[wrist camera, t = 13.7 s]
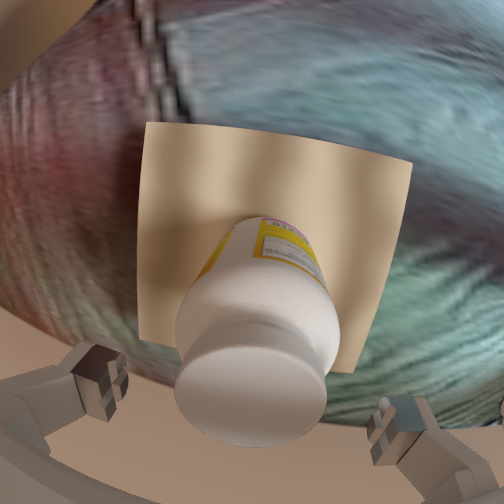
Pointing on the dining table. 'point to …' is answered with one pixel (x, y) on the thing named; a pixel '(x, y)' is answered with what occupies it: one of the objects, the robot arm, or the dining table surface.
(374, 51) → the dining table surface
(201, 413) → the supplement bottle
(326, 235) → the birch plinth
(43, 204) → the dining table surface
